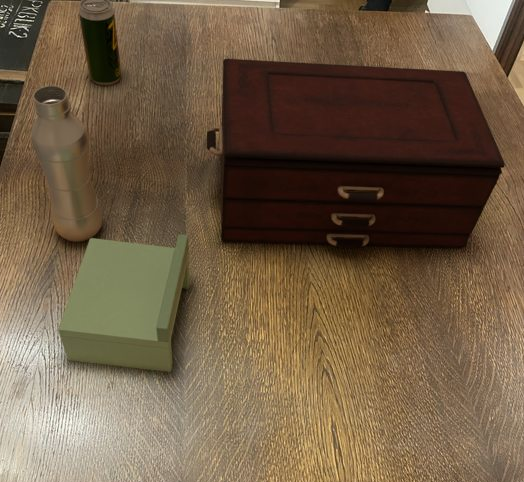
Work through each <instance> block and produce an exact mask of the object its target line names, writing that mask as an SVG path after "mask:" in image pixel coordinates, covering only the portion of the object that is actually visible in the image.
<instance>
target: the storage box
mask: <svg viewBox="0 0 524 482" xmlns="http://www.w3.org/2000/svg"><path fill="white" fill-rule="evenodd" d="M221 90H222V91H221V122H220V125H217V126H213V127H212V128H210V129H209V130H208V131H206V150H207V151H210V153H211V154H213V155H215V156H220V239H221V240H220V241H222V242H224V243H225V242H226V243H255V244H256V243H258V244H259V243H261V244H295V245H296V244H298V245H332V246H335V247H336V248H350V249H353V248H354V249H361V248H363V247H364V246H367V247H370V246H372V247H374V246H375V247H402V248H404V247H406V248H407V247H409V248H439V249H440V248H442V249H443V248H444V249H462V248H466V245H467V243H468V242H469V239H470V237H471V235H472V233H473V231H474V229H475V227H476V225H477V223H478V221H479V220H480V218H481V215H482V213H483V212H484V208H485V207H486V205H487V203H488V201H489V199H490V198H491V195H492V193H493V191H494V189H495V187H496V186H497V182H498V181H499V179H500V175H501V174H502V169H503V168H505V166H506V163H505V161H504V158H503V156H502V154H501V151H500V149H499V146H498V145H497V142H496V140H495V137H494V135H493V133H492V130H491V128H490V126H489V124H488V121H487V120H486V117H485V114H484V112H483V110H482V107H481V105H480V102H479V100H478V98H477V96H476V93H475V91H474V89H473V87H472V85H471V82H470V80H469V77H468V75H467V73H466V72H465V71H461V70H446V69H445V70H443V69H442V70H441V69H425V68H406V67H388V66H370V65H369V66H368V65H349V64H332V63H331V64H329V63H315V62H314V63H313V62H298V61H297V62H296V61H295V62H292V61H278V60H277V61H276V60H275V61H274V60H257V59H240V58H239V59H238V58H224V59H223V60H222V89H221ZM216 132H218V149H217V134H216Z"/></svg>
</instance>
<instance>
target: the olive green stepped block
mask: <svg viewBox="0 0 524 482" xmlns="http://www.w3.org/2000/svg"><path fill="white" fill-rule="evenodd" d="M189 252H190V251H189V235H188V234H180V233H177V238H176V242H175V246H174V247H169V246H161V245H152V244H145V243H144V244H143V243H135V242H127V241H120V240H112V239H102V238H96V237H95V238H94V237H92V238H90V239H88V243H87V246H86V248H85V252H84V253H83V257H82V259H81V263H80V266H79V268H78V271H77V274H76V277H75V279H74V282H73V286H72V288H71V291H70V294H69V297H68V300H67V302H66V305H65V309H64V311H63V314H62V316H61V319H60V322H59V325H58V328H57V331H58V334H59V337H60V340H61V343H62V346H63V350H64V352H65V355H66V358H67V360H68V361H72V362H79V363H80V362H81V363H90V364H98V365H107V366H116V367H124V368H133V369H142V370H149V371H158V372H167V373H171V372H172V368H173V365H174V363H173V353H172V351H173V350H172V337H173V333H174V332H173V331H174V327H175V322H176V318H177V313H178V308H179V303H180V299H181V294H182V291H183V290H182V289H186V290H188V289H189V286H190V255H189V254H190V253H189Z"/></svg>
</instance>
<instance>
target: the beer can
mask: <svg viewBox="0 0 524 482" xmlns="http://www.w3.org/2000/svg"><path fill="white" fill-rule="evenodd" d="M78 7H79V9H78V16H79V17H78V18H79V23H80V28H81V30H80V31H81V35H82V42H83V48H84V54H85V60H86V66H87V71H88V77H89V78H90V80H91V81H92V83H93V84H95V85H98V86H102V87H108V86H109V87H110V86H113V85H116V84H118V83H119V81H120V80H121V78H122V67H121V66H122V65H121V59H120V58H121V57H120V50H119V41H118V32H117V23H116V15H115V10H114V8H113V4H112V1H110V0H80V2H79V3H78Z"/></svg>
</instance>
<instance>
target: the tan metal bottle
mask: <svg viewBox="0 0 524 482" xmlns="http://www.w3.org/2000/svg"><path fill="white" fill-rule="evenodd" d="M32 100H33V104H34V111H35V115H36V116H37V117H36V119H35V121H34V123H33V125H32V128H31V132H30V143H31V145H32V148H33V150H34V153H35V155H36V158H37V160H38V162H39V164H40V166H41V169H42V171H43V175H44V178H45V180H46V184H47V187H48V194H49V200H50V218H51V223H52V225H53V227H54V230H55V231H56V233H57V234H58V235H59V236H60V237H62V238H63V239H65V240H67V241H70V242H84V241H89V240H90V238H94V237H95V236H96V235H97V234H98V232H99V231H100V230H101V228H102V225H103V210H102V206H101V204H100V201H99V200H98V198H97V195H96V192H95V189H94V185H93V181H92V175H91V166H90V144H89V142H90V140H89V133H88V129H87V128H86V126H85V124H84V122H83V121H82V120H81V119H80V118H79V117H78V116H77V115H76V114H74V112H72V105H71V102H70V100H69V97H68V92H67V90H66V89H64V88H63V87H61V86H59V85H45V86H44V85H43V86H41V87H39V88H38V89H36V90H35V91H34V92H33V94H32Z"/></svg>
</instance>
